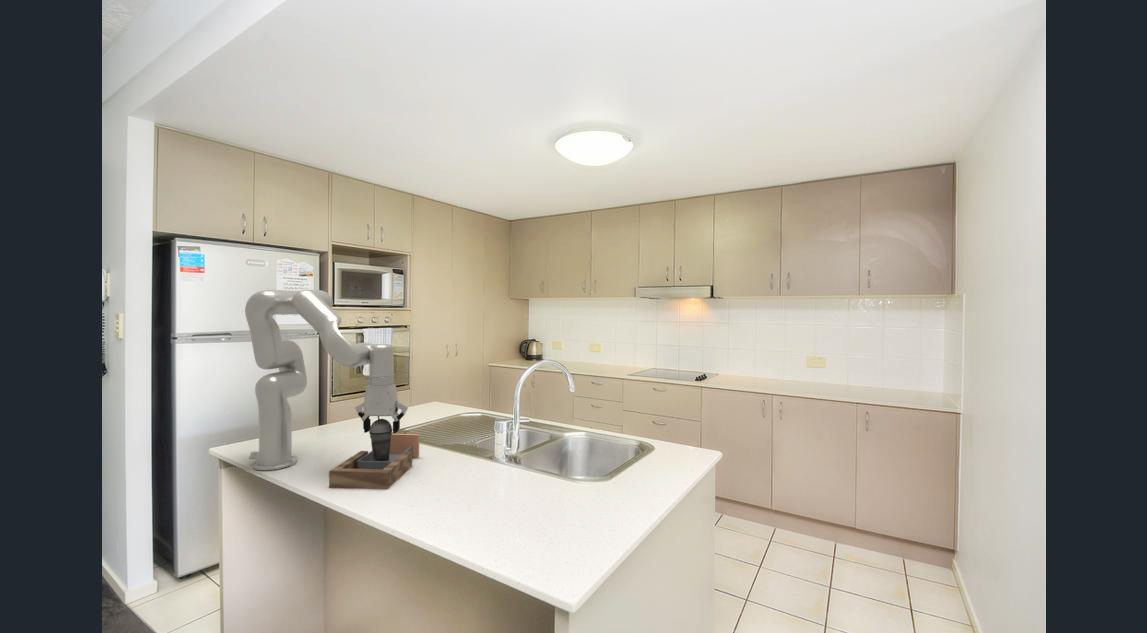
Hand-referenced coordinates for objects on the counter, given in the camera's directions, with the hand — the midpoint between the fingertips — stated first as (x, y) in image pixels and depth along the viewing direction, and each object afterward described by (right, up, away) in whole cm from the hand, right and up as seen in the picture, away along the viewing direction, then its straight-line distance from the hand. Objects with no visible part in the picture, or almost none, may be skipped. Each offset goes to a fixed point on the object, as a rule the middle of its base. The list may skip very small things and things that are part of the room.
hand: (381, 431), depth 159 cm
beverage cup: (0, -12, 0) cm, 12 cm away
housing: (0, -13, -6) cm, 14 cm away
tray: (0, -13, +4) cm, 13 cm away
